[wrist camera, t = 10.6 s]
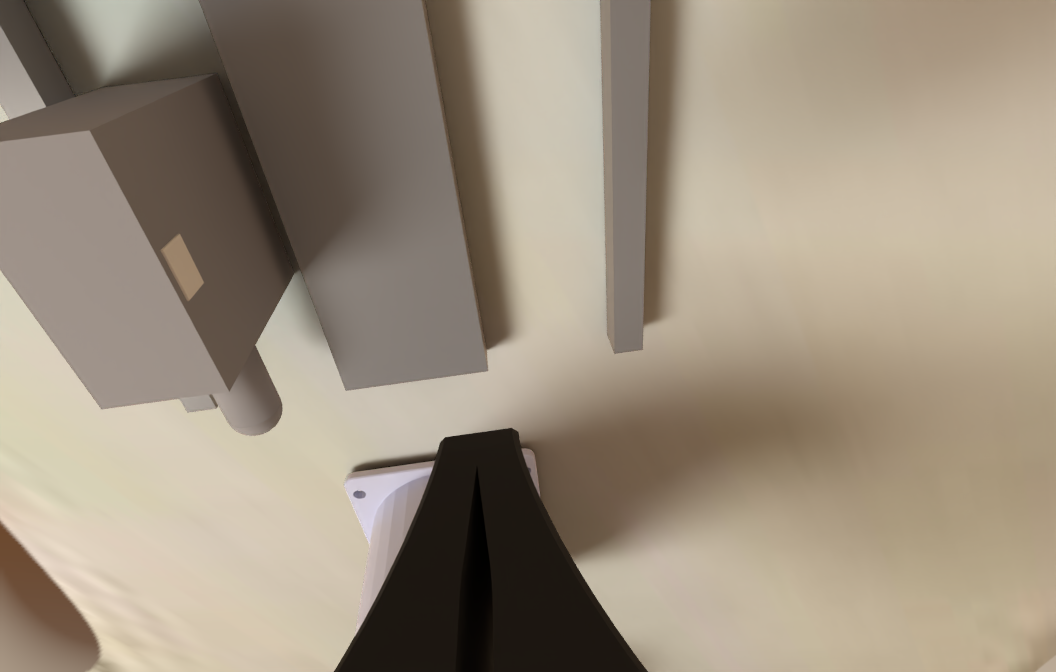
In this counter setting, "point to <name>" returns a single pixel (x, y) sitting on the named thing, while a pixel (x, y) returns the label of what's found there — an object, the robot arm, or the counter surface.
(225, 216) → the tall taupe box
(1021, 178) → the counter surface
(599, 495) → the counter surface
